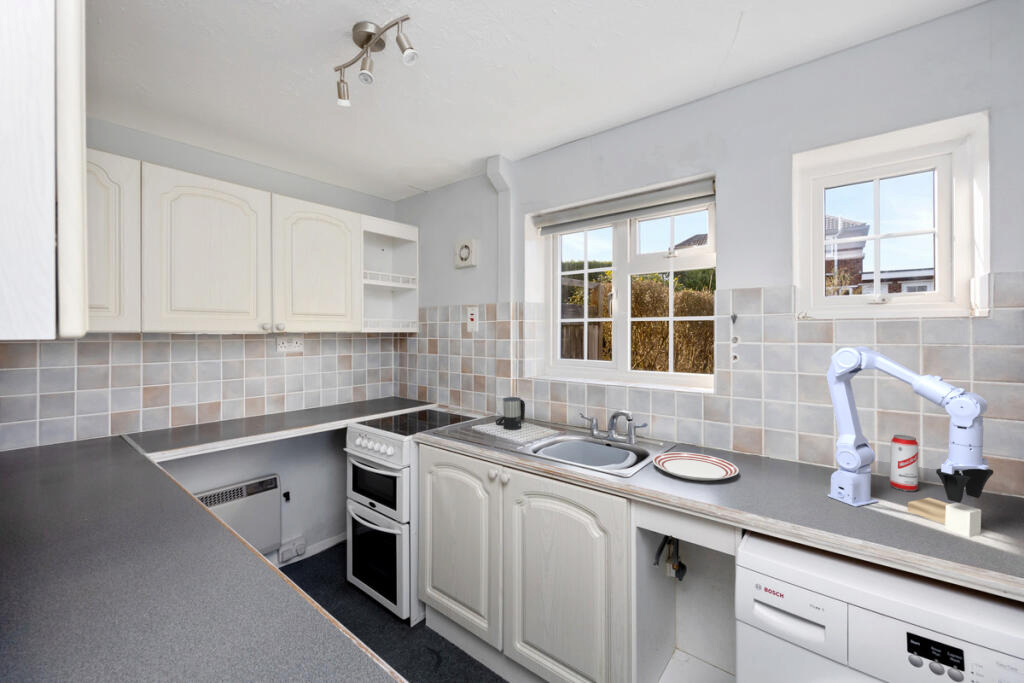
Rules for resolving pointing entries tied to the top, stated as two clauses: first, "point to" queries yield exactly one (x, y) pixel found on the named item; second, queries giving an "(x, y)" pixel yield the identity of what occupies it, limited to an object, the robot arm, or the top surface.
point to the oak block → (929, 509)
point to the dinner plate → (695, 466)
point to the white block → (963, 519)
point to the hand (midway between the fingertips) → (963, 498)
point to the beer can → (904, 463)
